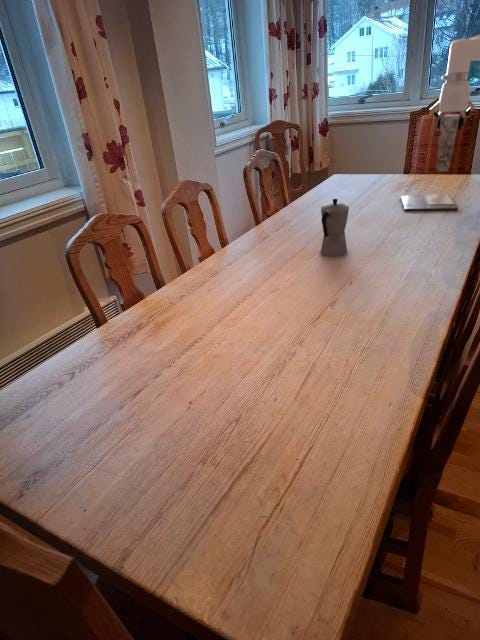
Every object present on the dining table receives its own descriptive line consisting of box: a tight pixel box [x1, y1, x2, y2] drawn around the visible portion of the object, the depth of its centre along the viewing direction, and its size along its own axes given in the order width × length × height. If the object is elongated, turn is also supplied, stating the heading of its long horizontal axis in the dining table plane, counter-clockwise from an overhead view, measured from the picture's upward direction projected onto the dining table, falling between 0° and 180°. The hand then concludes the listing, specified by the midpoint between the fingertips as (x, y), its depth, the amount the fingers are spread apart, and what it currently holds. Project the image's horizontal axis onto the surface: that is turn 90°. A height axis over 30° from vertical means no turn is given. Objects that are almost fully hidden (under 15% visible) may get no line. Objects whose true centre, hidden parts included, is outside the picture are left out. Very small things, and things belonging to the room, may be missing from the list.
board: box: [400, 193, 459, 212], centre depth 182 cm, size 20×20×1 cm
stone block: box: [435, 113, 461, 173], centre depth 173 cm, size 13×7×20 cm, turn 158°
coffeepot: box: [320, 198, 350, 257], centre depth 141 cm, size 15×9×18 cm, turn 145°
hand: (449, 129), depth 170 cm, fingers closed on stone block, 6 cm apart
